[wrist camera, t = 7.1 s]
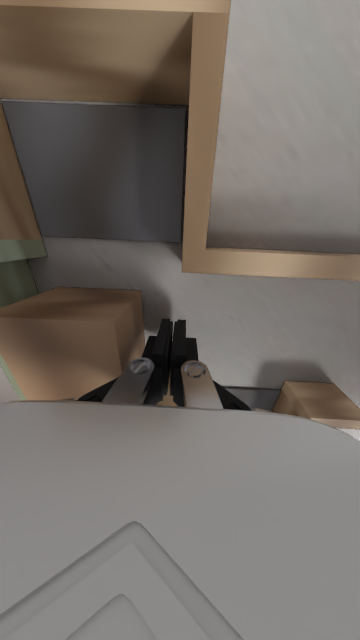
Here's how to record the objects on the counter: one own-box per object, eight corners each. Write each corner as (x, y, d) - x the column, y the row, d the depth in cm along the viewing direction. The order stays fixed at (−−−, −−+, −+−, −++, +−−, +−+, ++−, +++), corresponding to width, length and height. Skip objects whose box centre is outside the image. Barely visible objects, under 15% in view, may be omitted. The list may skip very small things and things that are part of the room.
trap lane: (525, 84, 7) (796, -39, 4) (301, 433, 19) (325, 473, 16) (-66, 62, 7) (-257, -72, 4) (75, 421, 19) (54, 457, 16)
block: (141, 290, 12) (113, 322, 7) (145, 357, 14) (127, 410, 10) (58, 286, 12) (-21, 315, 7) (78, 353, 14) (29, 405, 10)
